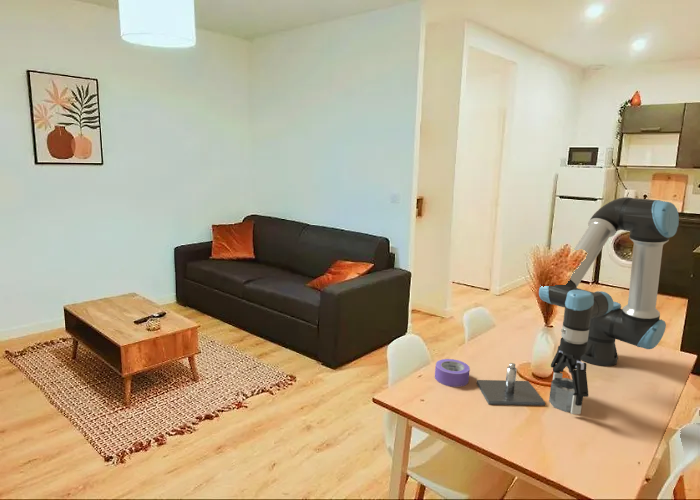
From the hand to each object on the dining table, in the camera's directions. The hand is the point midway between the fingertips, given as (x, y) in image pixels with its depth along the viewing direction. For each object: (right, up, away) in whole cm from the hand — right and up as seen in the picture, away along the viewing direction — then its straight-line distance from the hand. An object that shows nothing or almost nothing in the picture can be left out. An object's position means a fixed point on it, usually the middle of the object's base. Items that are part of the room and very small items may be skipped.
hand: (565, 401), depth 151 cm
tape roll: (-33, +3, +15) cm, 37 cm away
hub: (0, -1, 0) cm, 1 cm away
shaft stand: (-16, +1, +6) cm, 17 cm away
